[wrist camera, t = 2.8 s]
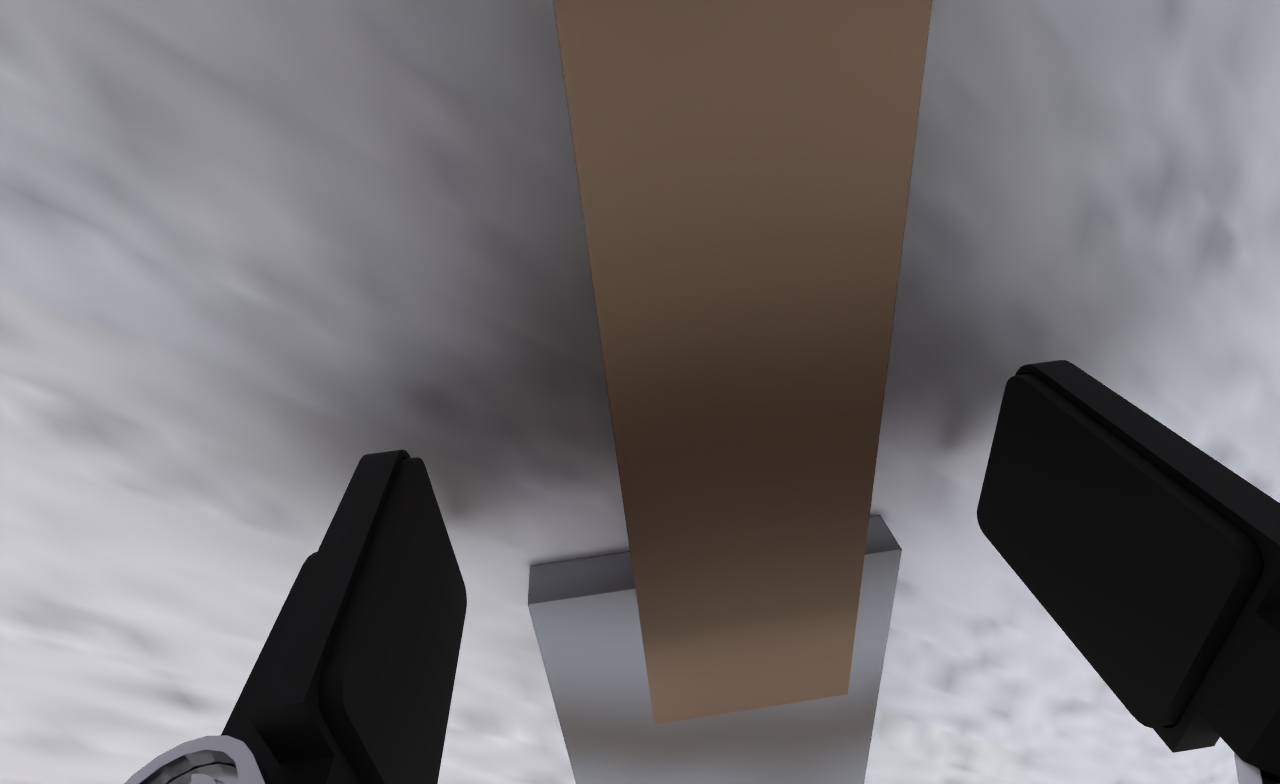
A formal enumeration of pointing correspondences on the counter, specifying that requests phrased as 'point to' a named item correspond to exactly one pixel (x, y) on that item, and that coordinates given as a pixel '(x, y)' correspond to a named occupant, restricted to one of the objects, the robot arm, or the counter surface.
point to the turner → (736, 382)
